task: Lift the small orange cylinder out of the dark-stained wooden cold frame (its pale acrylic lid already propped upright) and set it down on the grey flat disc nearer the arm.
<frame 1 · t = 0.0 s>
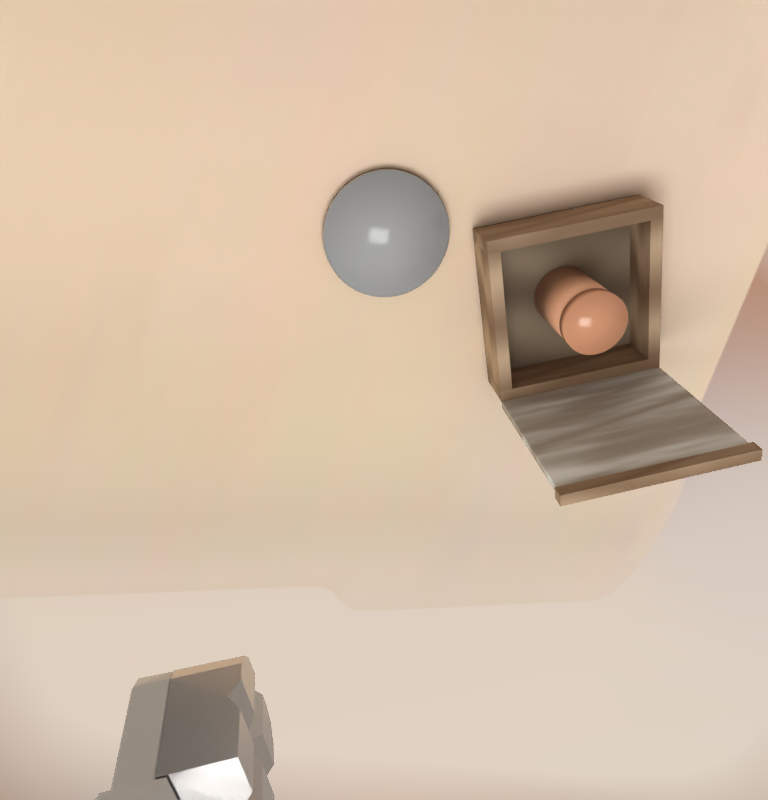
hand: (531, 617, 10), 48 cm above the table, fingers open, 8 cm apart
cold frame: (560, 292, 60), on the table
orange cylinder: (562, 294, 60), resting on cold frame
grey flat disc: (386, 234, 56), on the table
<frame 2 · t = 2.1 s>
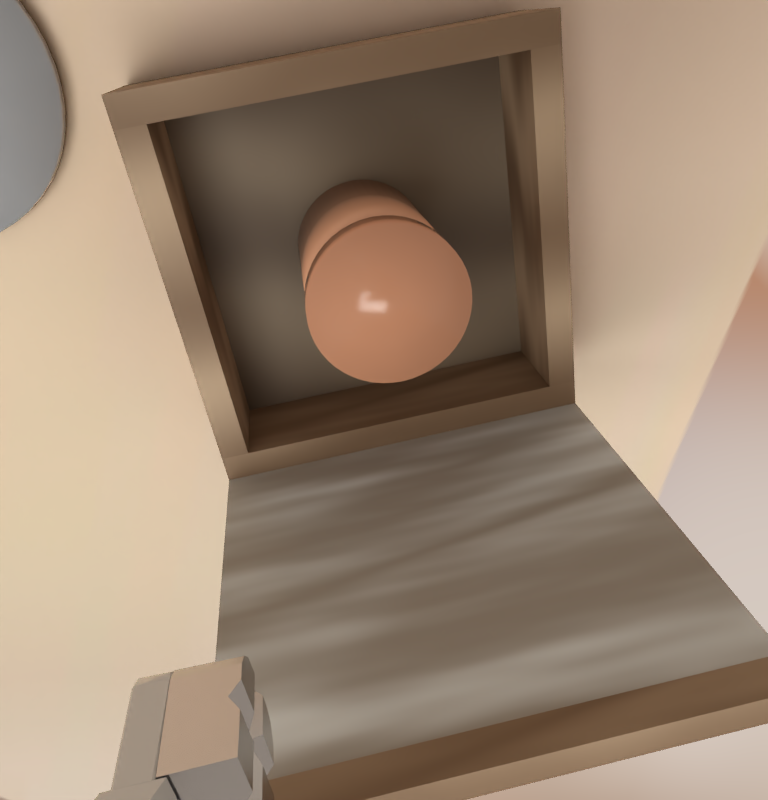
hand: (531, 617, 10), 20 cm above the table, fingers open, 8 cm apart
cold frame: (360, 242, 28), on the table
orange cylinder: (362, 245, 27), resting on cold frame
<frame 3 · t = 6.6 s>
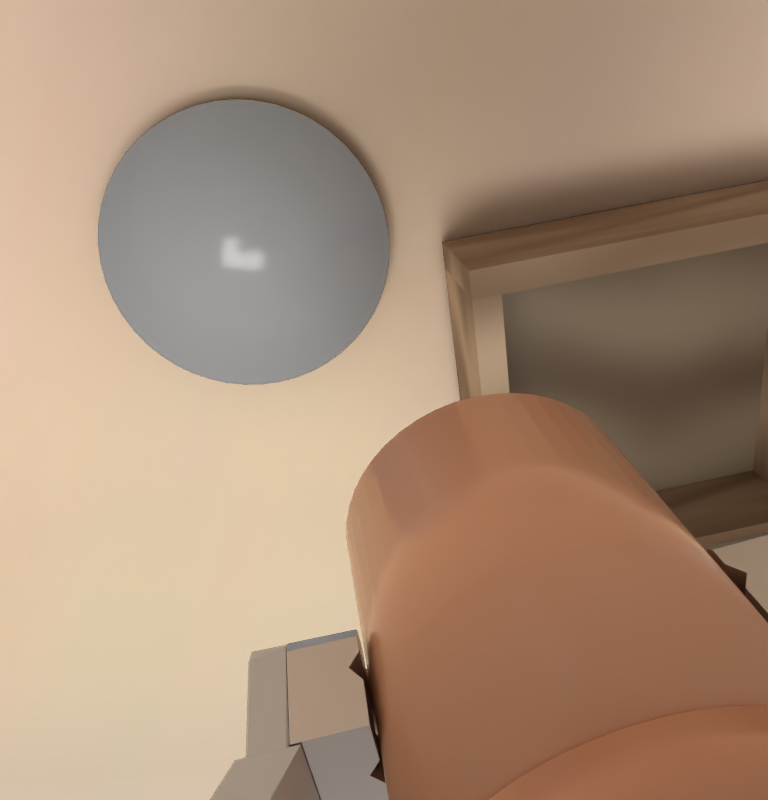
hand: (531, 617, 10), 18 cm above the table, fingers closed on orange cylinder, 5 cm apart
cold frame: (622, 374, 30), on the table
orange cylinder: (488, 520, 12), point 16 cm above the table, touching gripper
grey flat disc: (248, 250, 25), on the table
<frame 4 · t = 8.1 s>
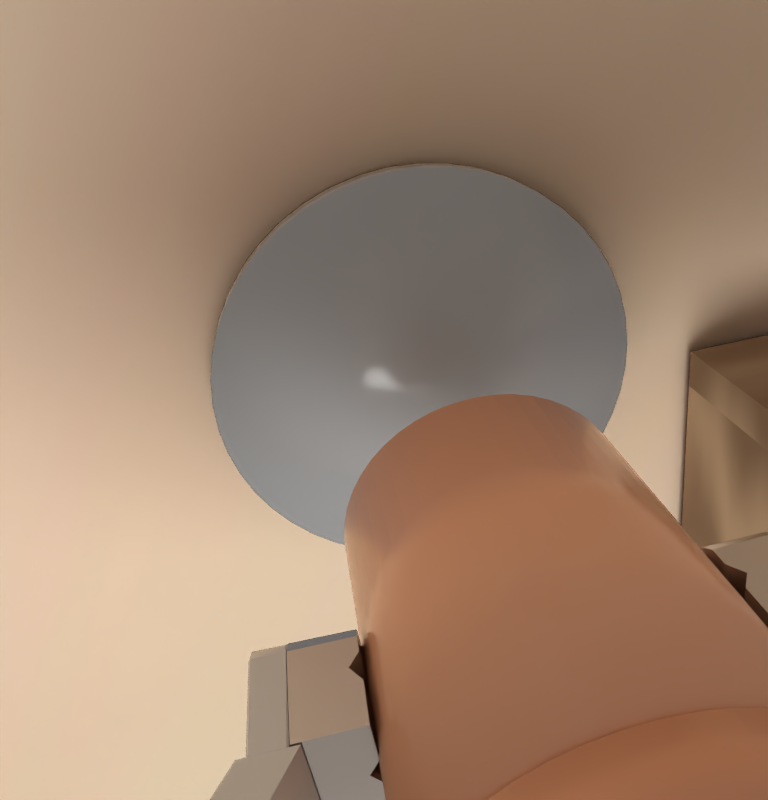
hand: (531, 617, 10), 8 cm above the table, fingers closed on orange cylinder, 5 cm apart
orange cylinder: (486, 521, 12), point 6 cm above the table, touching gripper
grey flat disc: (421, 374, 17), on the table
when the fingers open (4 cm above the table, at t = 9.3 s): orange cylinder drops 1 cm, resting on grey flat disc.
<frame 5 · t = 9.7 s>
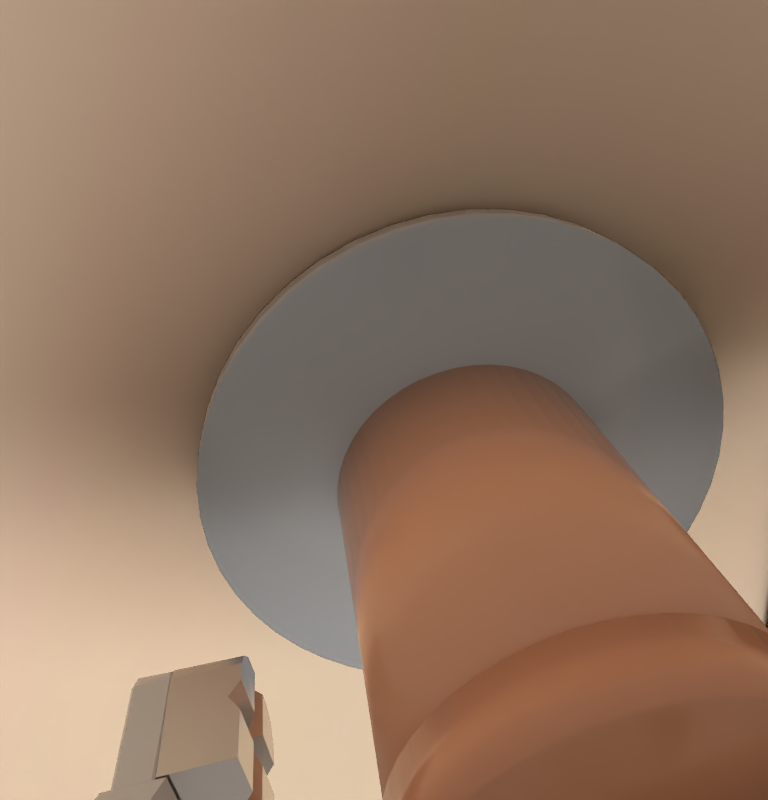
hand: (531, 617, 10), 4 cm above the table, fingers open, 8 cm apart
orange cylinder: (469, 485, 13), point 1 cm above the table, touching grey flat disc
grey flat disc: (462, 467, 14), on the table
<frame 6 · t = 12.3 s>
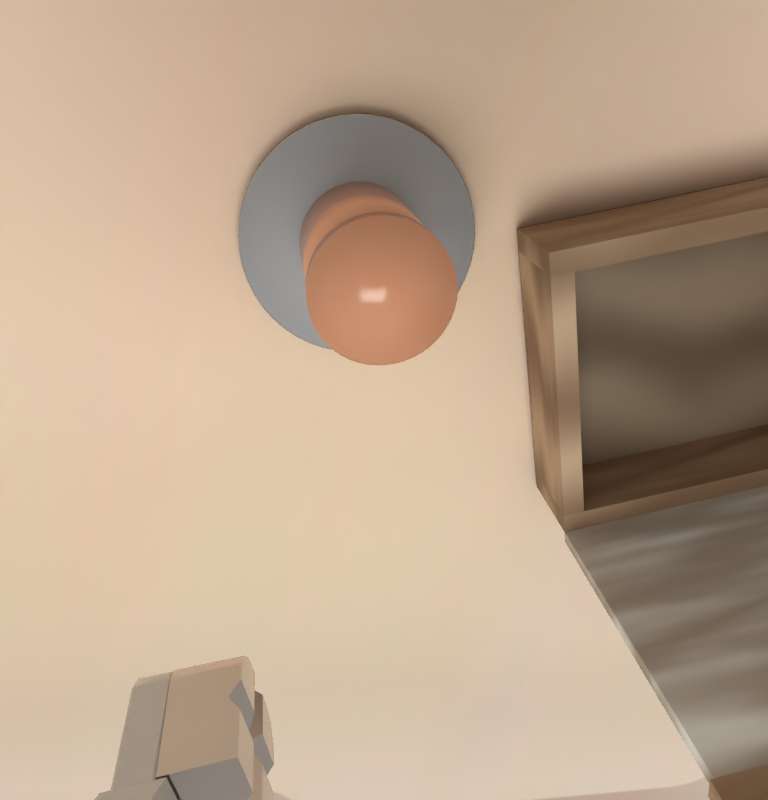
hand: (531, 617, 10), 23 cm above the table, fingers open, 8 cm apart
cold frame: (665, 340, 35), on the table
orange cylinder: (359, 242, 30), point 1 cm above the table, touching grey flat disc
grey flat disc: (357, 238, 30), on the table
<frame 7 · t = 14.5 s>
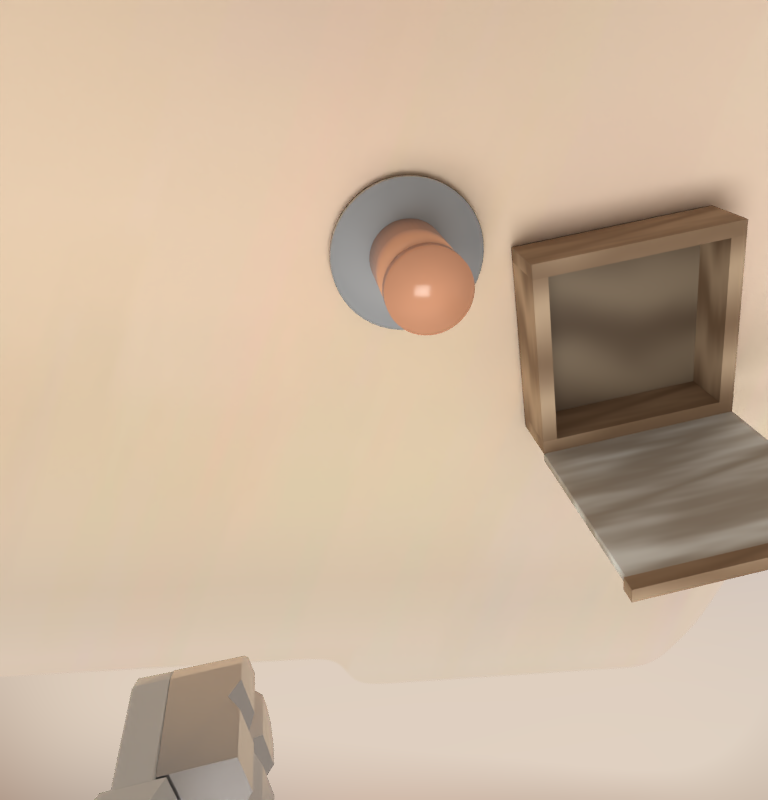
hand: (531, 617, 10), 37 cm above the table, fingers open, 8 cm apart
cold frame: (613, 322, 50), on the table
orange cylinder: (407, 257, 45), point 1 cm above the table, touching grey flat disc
grey flat disc: (406, 254, 46), on the table
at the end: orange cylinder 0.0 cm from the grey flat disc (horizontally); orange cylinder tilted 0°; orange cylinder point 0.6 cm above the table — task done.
